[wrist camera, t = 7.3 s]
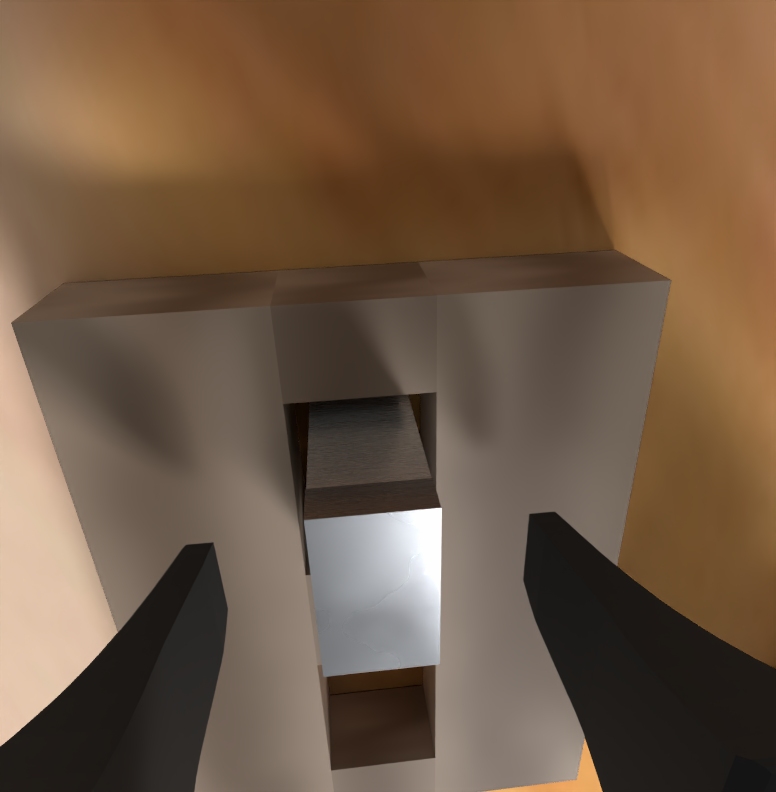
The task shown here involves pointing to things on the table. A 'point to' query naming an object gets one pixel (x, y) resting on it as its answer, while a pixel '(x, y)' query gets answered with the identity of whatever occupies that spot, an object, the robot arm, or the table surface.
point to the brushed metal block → (372, 536)
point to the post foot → (285, 490)
